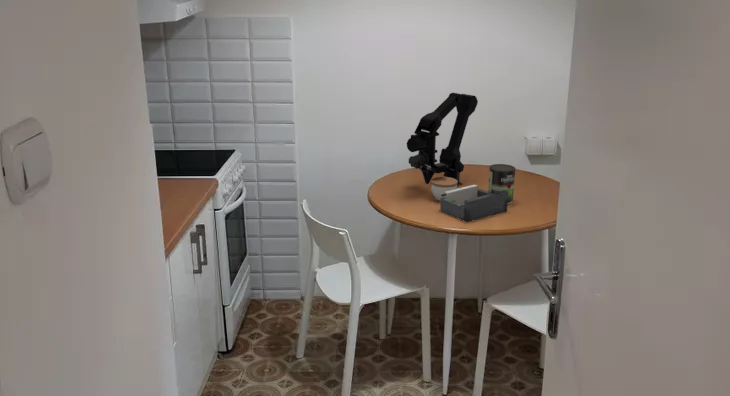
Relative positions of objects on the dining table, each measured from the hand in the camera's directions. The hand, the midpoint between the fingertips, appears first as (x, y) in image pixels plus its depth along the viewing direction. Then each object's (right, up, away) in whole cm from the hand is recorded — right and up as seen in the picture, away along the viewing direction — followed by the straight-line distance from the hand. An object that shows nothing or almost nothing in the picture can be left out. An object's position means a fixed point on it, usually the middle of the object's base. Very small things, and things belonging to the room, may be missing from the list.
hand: (427, 183), depth 295 cm
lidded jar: (+6, -6, -7) cm, 11 cm away
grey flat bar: (+11, -8, -15) cm, 21 cm away
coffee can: (+29, -7, -9) cm, 31 cm away
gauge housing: (+16, -11, -20) cm, 28 cm away
